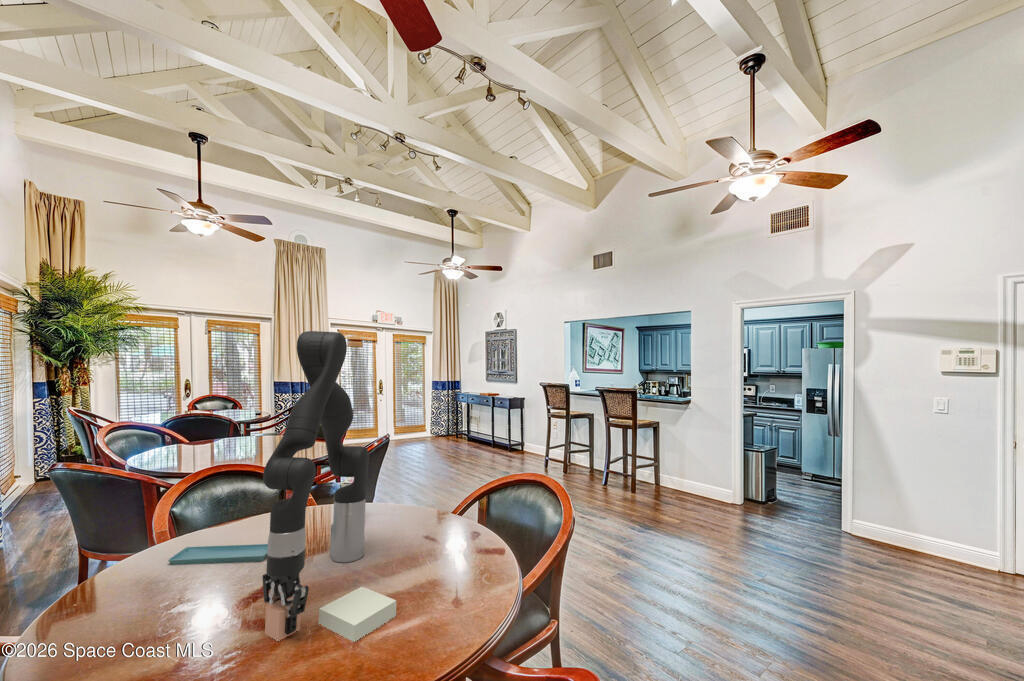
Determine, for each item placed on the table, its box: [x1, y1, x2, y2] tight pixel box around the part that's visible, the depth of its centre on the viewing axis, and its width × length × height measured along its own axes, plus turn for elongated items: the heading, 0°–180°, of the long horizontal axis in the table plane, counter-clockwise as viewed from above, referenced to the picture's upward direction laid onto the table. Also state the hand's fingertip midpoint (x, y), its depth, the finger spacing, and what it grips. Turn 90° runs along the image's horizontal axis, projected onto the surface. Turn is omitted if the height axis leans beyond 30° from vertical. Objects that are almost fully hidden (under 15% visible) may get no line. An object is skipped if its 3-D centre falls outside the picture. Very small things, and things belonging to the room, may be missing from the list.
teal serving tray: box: [167, 543, 268, 565], centre depth 133 cm, size 26×9×2 cm, turn 97°
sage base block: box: [318, 586, 397, 643], centre depth 102 cm, size 12×12×4 cm
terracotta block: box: [264, 597, 302, 642], centre depth 97 cm, size 5×5×6 cm
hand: (282, 627), depth 97 cm, fingers closed on terracotta block, 5 cm apart
